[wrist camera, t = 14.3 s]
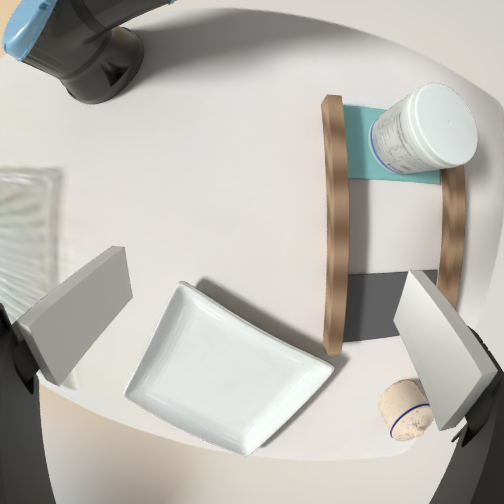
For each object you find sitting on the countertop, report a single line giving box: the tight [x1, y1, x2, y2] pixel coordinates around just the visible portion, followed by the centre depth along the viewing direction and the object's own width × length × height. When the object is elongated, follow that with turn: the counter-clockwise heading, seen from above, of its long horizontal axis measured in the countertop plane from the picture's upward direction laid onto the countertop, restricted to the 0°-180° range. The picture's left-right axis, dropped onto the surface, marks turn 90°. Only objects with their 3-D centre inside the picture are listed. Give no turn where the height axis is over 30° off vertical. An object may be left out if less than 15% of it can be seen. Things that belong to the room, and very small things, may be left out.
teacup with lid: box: [378, 380, 434, 441], centre depth 37 cm, size 12×9×12 cm
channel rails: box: [321, 95, 465, 356], centre depth 35 cm, size 36×22×4 cm, turn 2°
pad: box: [343, 105, 440, 184], centre depth 35 cm, size 11×17×1 cm, turn 92°
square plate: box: [123, 281, 334, 456], centre depth 41 cm, size 27×27×4 cm
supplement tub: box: [368, 83, 478, 174], centre depth 27 cm, size 10×10×15 cm
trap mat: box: [343, 270, 437, 342], centre depth 39 cm, size 11×17×1 cm, turn 92°
